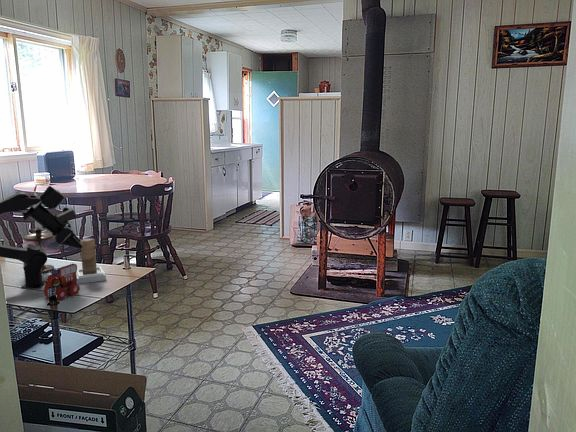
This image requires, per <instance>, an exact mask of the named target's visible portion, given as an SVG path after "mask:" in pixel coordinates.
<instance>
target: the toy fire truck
mask: <svg viewBox="0 0 576 432" xmlns="http://www.w3.org/2000/svg"><path fill="white" fill-rule="evenodd" d="M77 269H78V265H77V264H76V263H70V264H67V265H64V266H61V267H58V268H57V269H56V268H54V269H53V270H52V271H51V272H50V273H51V274H49V275H48V276H47V277H46V278H47V279H46V280H45V281H46V283H45V284H44V287H43V294H44V296H45V298H48V299H49V287H56V295H57V299H56V300H58V301H62V300H61V299H63V300H65V299H66V297H67V295H68V294H69V295H71V296H76V295H78V294H79V292H81V291H80V290H81V288H80V287H81V286H80V284H77V275H76V272H77Z"/></svg>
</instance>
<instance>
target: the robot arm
mask: <svg viewBox="0 0 576 432" xmlns="http://www.w3.org/2000/svg"><path fill="white" fill-rule="evenodd" d="M37 195H38V194H37ZM37 195H34V194H33V195H32V194H29V193H28V192H25V191H18V192H16V193H14V194H12V195H10V196H8V197H7V198H5V199H3V200H1V201H0V215H1V214H5V213H13V212H20V211H22V213H21V214H22V216H23V217H22V218H23V221H26V220H27V219H28V218H31V220H33V221H34V222H35V221H36V222H37V223H39V224H40V225H41V228H44V229H43V230H45V229H46V231H48V233H52V235H53V236H54V241H55V243H57V244H59V245H64V246H68V247H73V248H77V249H80V250H81V248H82V247H83V246H82V245H81V240H80V238H79V237H78V236H77V235H76V234H75V232H74V230H73V229H72V226H71V223H70V221H71V220H74V219H77V218H78V215H77V213H76V212H75V210H74V208H73V207H70V208H69V207H67V206H65V207H63V208H62V212H60V213H59V214H57V213H54V212H52V211H50V210H52V209H56V208H57V207H58V206H60V204H61V203H62V202H63V201H64V200H65V199H67V198H66V195H64V194H63V193H61V192H60V191H59V190H57V189H56V188H55V187H52V186H51V185H48V186H47V187H46V189H45V190H44V191H43V192H42V194H40V195H38V196H37ZM36 204H37V205H36ZM33 205H36V206H35V207H34V206H33ZM43 205H44V206H43ZM25 210H26V211H25ZM0 258H3V259H4V258H6V259H11V260H12V259H13V260H18V261H20V262H22V263H23V267H22V269H23V274H24V282H25V283H24V284H23V285H21V289H26V288H27V289H31V288H32V289H34V288H35V289H37V288H38V289H39V288H41V287H43V286H45V284H46V281H47V280H44V277H43V273H42V265H46V263H47V262H48V254H47V251H46V249H44V248H43V247H42V248H41V247H40V245H38V244H37V245H34V244H31V243H27V245H26V247H17V246H11V245H6V244H5V245H4V244H0Z"/></svg>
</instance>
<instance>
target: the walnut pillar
mask: <svg viewBox="0 0 576 432" xmlns="http://www.w3.org/2000/svg"><path fill="white" fill-rule="evenodd" d="M80 244H81V245H82V246H83V247H82V248H81V249H80V252H81V266H82V268H81V269H82V270H83V275H87V274H95V273H97V267H98V266H97V254H96V253H97V252H96V240H95V238H84V239H81V240H80Z"/></svg>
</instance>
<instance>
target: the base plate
mask: <svg viewBox="0 0 576 432" xmlns="http://www.w3.org/2000/svg"><path fill="white" fill-rule="evenodd" d="M96 267H97V273H95V274H87V275H83V270H82V268H77V272H76V275H77V284H78V285H80V284H85V283H86V284H87V283H93V282H101V281H102V282H103V281H106V280H107V276H106V273H105V271H104V269H103V267H101V266H96Z"/></svg>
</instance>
